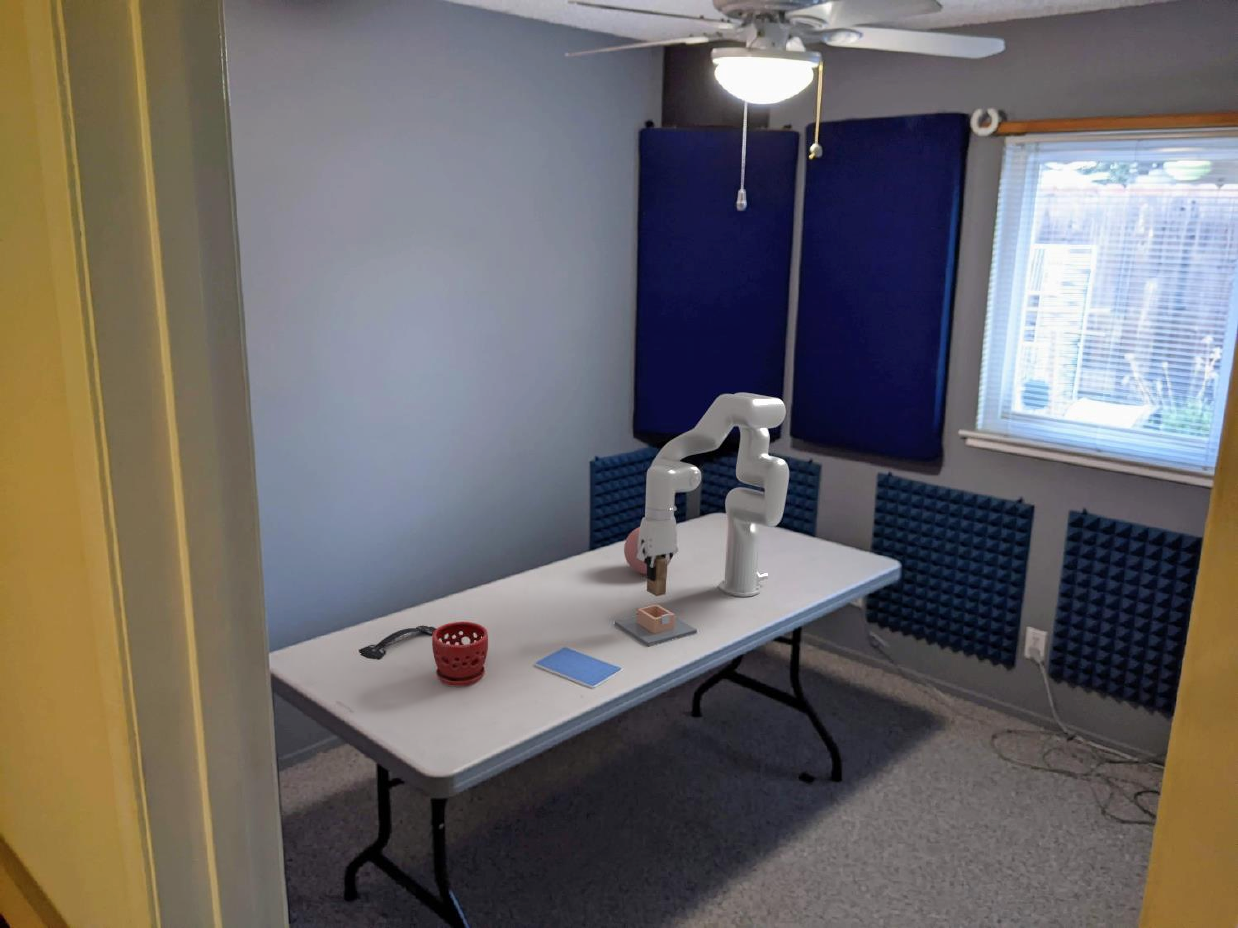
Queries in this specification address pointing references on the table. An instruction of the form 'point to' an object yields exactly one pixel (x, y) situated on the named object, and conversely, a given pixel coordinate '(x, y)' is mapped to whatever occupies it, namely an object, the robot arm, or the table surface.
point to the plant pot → (460, 653)
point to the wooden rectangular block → (658, 577)
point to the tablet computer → (578, 667)
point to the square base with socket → (655, 625)
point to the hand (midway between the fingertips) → (656, 577)
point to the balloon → (634, 552)
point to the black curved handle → (378, 649)
